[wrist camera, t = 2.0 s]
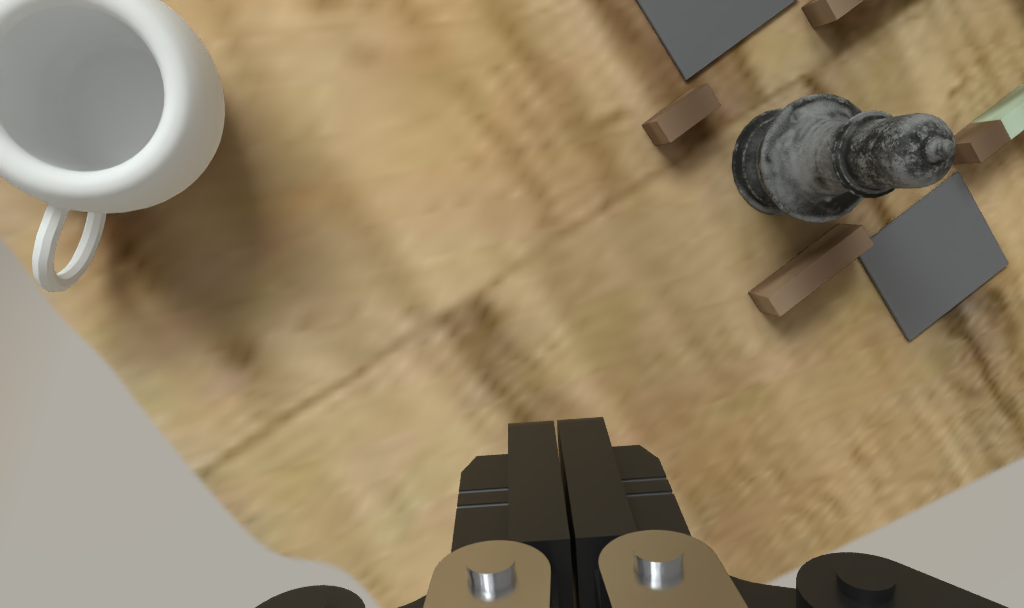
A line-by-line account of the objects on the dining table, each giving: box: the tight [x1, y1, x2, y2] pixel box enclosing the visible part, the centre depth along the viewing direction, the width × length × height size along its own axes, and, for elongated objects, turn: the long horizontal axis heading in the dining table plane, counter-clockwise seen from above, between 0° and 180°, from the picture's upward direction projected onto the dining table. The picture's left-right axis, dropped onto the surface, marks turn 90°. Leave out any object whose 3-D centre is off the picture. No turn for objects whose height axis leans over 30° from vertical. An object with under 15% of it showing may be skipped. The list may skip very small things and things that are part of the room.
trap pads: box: [636, 0, 1009, 341], centre depth 40 cm, size 10×24×1 cm, turn 35°
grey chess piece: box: [732, 94, 956, 223], centre depth 34 cm, size 6×6×12 cm
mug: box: [0, 0, 225, 292], centre depth 30 cm, size 12×8×8 cm
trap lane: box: [642, 0, 1024, 317], centre depth 39 cm, size 22×11×3 cm, turn 125°
